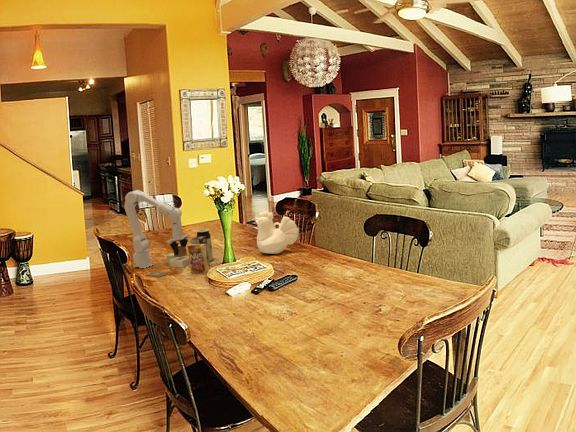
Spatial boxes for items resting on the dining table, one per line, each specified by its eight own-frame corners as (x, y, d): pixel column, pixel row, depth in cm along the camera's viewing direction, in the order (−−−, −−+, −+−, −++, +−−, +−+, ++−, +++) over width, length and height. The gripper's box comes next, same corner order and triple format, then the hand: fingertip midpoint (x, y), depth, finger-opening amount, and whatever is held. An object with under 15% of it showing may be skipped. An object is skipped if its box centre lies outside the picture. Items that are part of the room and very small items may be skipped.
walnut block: (174, 256, 308) (173, 248, 307) (180, 254, 312) (179, 246, 311) (180, 257, 305) (179, 248, 304) (186, 255, 309) (185, 246, 308)
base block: (170, 267, 308) (169, 260, 307) (180, 262, 316) (179, 256, 315) (182, 268, 303) (181, 261, 303) (192, 263, 311) (192, 256, 310)
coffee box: (204, 268, 298) (201, 239, 295) (193, 268, 299) (189, 239, 296) (210, 263, 307) (206, 235, 304) (199, 263, 308) (195, 236, 305)
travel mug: (196, 262, 312) (193, 231, 309) (203, 258, 319) (200, 228, 316) (208, 262, 309) (205, 231, 306) (215, 258, 316) (212, 228, 313)
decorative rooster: (253, 256, 314) (249, 214, 310) (265, 249, 328) (261, 209, 324) (293, 257, 304) (289, 213, 300) (303, 250, 318) (299, 208, 314)
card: (145, 275, 292) (145, 274, 292) (155, 272, 298) (155, 271, 298) (158, 277, 287) (158, 276, 287) (168, 273, 292) (168, 273, 292)
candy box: (190, 273, 290) (186, 245, 287) (193, 270, 294) (190, 243, 291) (205, 273, 287) (202, 245, 284) (208, 270, 291) (205, 243, 288)
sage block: (167, 264, 314) (166, 255, 314) (171, 261, 319) (170, 253, 318) (175, 263, 313) (174, 255, 312) (179, 261, 318) (178, 253, 317)
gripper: (172, 233, 298) (175, 257, 300) (191, 227, 309) (194, 250, 312) (163, 232, 302) (166, 256, 304) (182, 227, 313) (185, 249, 316)
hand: (180, 253), depth 308 cm, fingers closed on walnut block, 5 cm apart
